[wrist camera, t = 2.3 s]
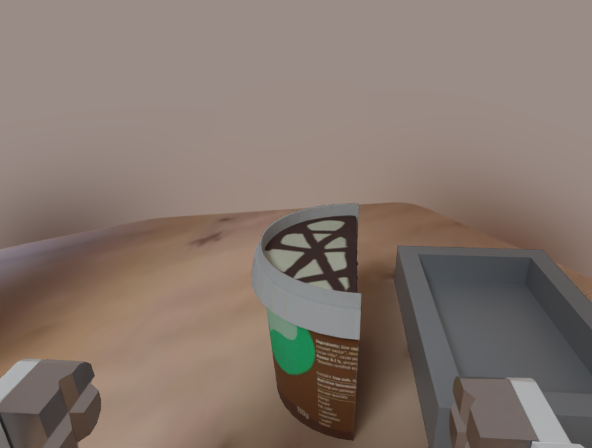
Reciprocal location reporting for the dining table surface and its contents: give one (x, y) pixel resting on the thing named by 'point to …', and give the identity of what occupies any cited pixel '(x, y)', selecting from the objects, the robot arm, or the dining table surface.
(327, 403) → the food container
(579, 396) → the tray
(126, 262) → the dining table surface
